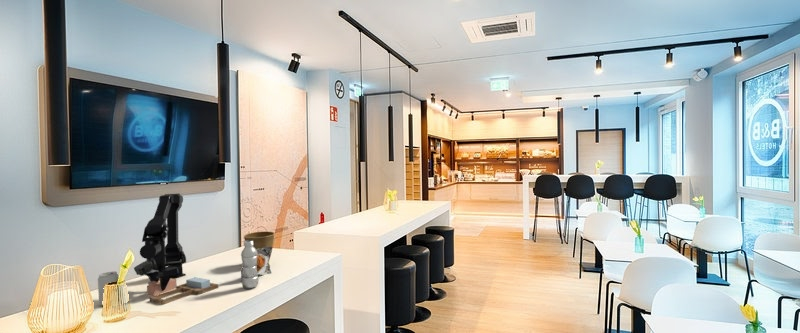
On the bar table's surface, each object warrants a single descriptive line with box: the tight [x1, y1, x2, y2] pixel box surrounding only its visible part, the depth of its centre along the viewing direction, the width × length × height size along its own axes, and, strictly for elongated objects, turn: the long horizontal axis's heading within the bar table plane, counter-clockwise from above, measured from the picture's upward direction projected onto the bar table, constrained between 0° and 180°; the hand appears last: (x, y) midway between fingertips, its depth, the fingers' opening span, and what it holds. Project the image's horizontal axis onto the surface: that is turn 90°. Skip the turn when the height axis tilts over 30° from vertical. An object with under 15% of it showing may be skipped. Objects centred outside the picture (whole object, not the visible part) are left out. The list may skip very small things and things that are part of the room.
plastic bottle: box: [240, 240, 260, 289], centre depth 160 cm, size 6×7×20 cm
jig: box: [149, 282, 219, 305], centre depth 156 cm, size 15×22×2 cm
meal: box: [240, 247, 273, 282], centre depth 173 cm, size 15×4×13 cm, turn 152°
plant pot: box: [243, 231, 275, 264], centre depth 195 cm, size 15×15×16 cm
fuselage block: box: [146, 278, 178, 297], centre depth 159 cm, size 4×10×6 cm, turn 157°
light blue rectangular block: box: [185, 276, 211, 289], centre depth 161 cm, size 10×4×4 cm, turn 63°
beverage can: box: [97, 271, 119, 306], centre depth 147 cm, size 6×6×12 cm
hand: (159, 289), depth 159 cm, fingers open, 5 cm apart
